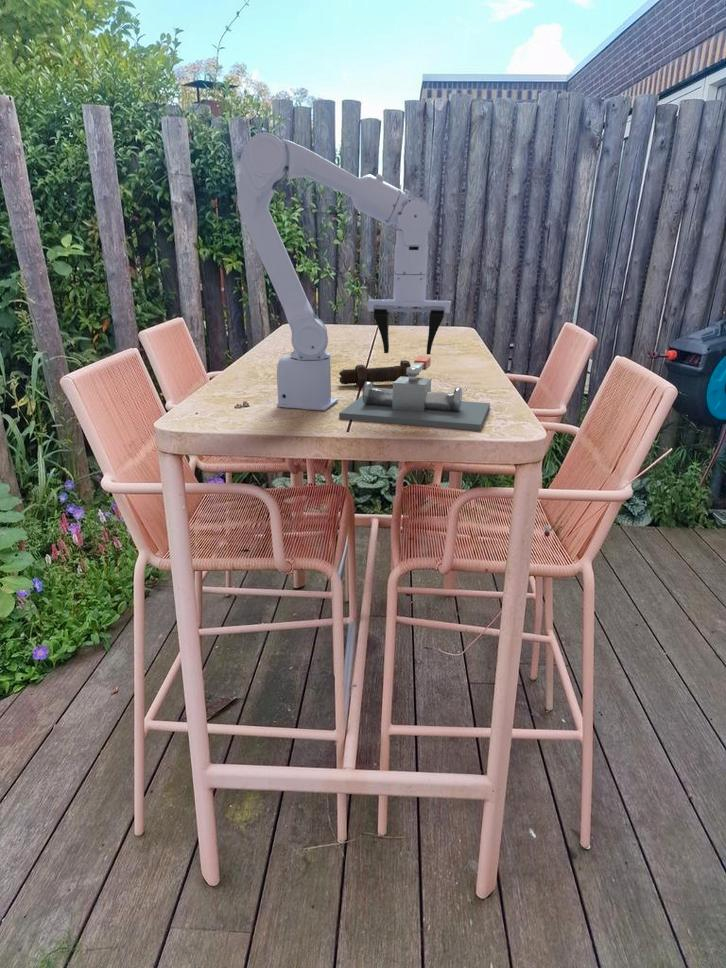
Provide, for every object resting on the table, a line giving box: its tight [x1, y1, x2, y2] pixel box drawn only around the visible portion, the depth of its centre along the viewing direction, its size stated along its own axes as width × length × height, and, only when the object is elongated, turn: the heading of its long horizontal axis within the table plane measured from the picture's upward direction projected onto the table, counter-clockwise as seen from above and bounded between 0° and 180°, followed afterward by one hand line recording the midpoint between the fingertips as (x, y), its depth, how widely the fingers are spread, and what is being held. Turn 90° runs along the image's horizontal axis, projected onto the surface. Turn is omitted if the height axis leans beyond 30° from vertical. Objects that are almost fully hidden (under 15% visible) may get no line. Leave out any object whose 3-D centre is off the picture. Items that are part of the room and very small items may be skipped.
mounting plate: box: [338, 394, 491, 432], centre depth 105 cm, size 24×15×1 cm, turn 73°
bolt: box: [338, 359, 412, 388], centre depth 126 cm, size 6×5×15 cm
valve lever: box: [406, 356, 432, 376], centre depth 107 cm, size 12×2×2 cm, turn 163°
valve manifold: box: [362, 375, 463, 412], centre depth 104 cm, size 17×6×6 cm, turn 73°
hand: (407, 353), depth 108 cm, fingers open, 7 cm apart
